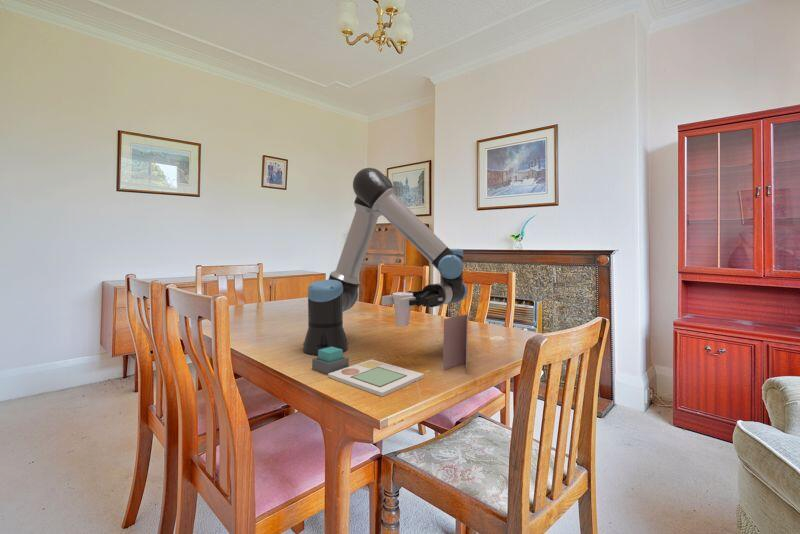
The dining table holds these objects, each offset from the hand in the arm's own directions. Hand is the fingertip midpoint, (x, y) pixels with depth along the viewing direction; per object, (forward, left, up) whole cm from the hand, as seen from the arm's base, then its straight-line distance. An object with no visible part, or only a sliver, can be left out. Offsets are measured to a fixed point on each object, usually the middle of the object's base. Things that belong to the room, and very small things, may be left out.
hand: (391, 302), depth 109 cm
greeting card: (+16, +14, -20) cm, 29 cm away
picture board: (+2, -8, -19) cm, 21 cm away
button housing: (-13, -12, -19) cm, 26 cm away
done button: (-13, -12, -17) cm, 24 cm away
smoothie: (0, +5, -8) cm, 9 cm away
